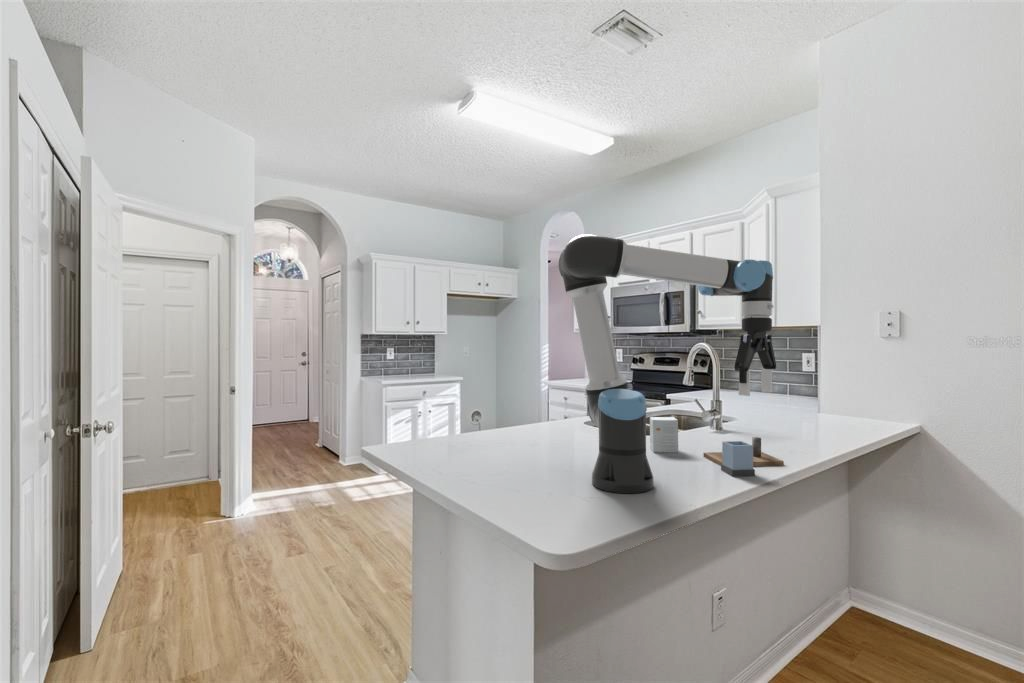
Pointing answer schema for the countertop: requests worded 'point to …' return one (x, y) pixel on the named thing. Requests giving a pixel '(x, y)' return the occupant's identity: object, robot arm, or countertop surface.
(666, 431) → the small box
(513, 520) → the countertop surface
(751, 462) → the sleeve
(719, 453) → the pin board
